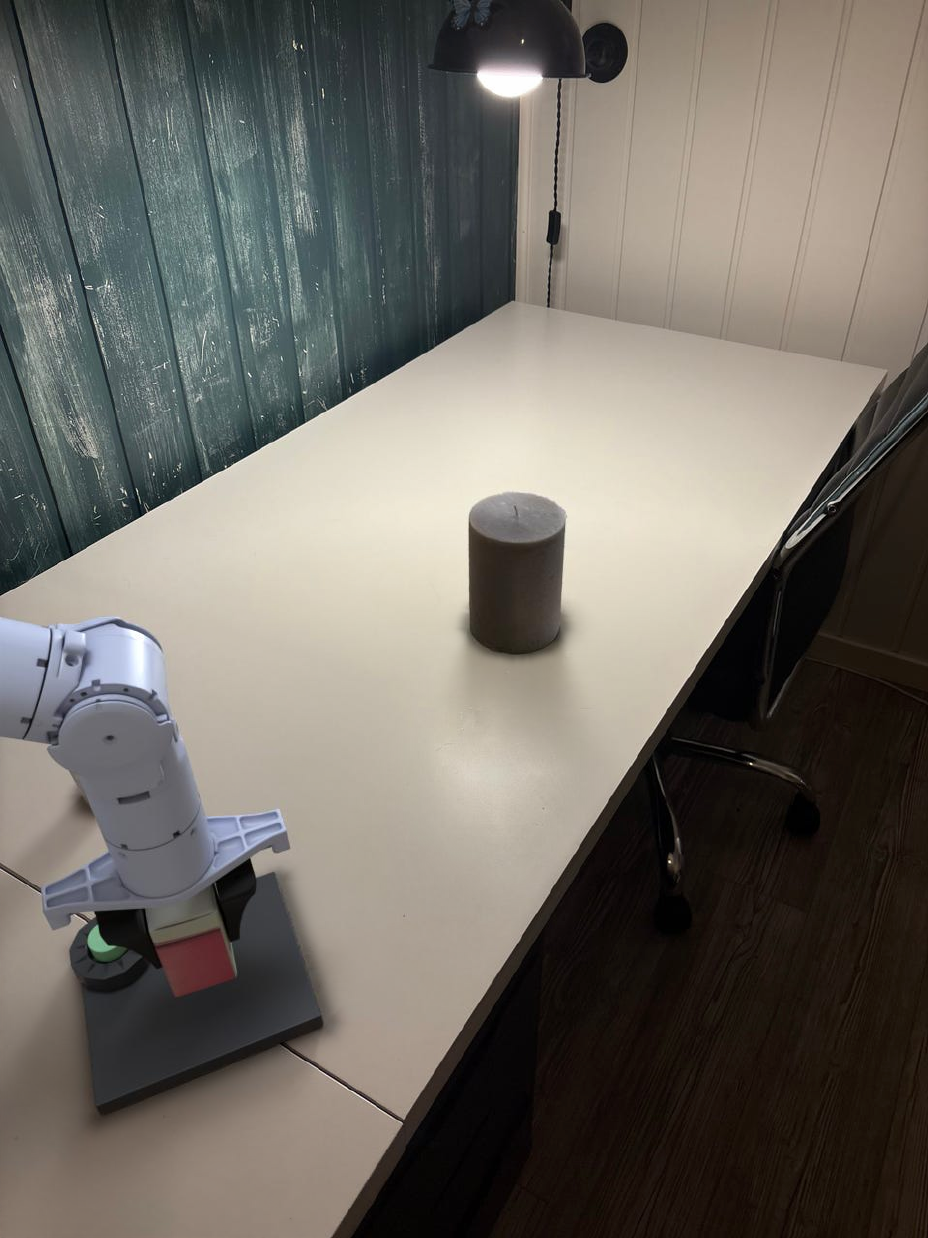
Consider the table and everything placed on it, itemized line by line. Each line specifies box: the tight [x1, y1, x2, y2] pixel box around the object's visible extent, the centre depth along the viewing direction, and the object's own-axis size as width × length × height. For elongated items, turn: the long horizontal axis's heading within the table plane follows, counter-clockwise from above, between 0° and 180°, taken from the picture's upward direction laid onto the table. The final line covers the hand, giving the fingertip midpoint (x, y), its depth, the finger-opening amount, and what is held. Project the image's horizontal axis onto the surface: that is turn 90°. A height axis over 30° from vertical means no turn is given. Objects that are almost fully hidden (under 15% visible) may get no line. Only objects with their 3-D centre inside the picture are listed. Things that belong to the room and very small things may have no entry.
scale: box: [68, 871, 324, 1116], centre depth 65 cm, size 15×13×3 cm
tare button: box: [88, 925, 127, 962], centre depth 66 cm, size 3×3×1 cm
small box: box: [145, 882, 237, 997], centre depth 61 cm, size 5×4×8 cm
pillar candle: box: [467, 490, 568, 654], centre depth 94 cm, size 10×10×15 cm
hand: (196, 941), depth 62 cm, fingers closed on small box, 4 cm apart
